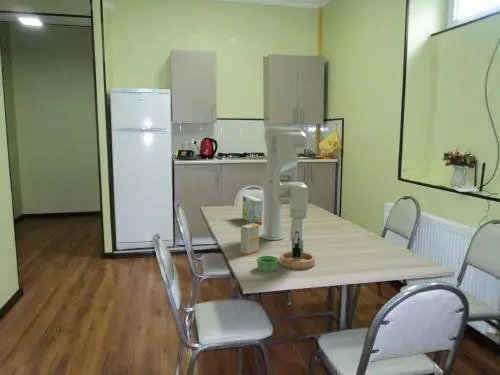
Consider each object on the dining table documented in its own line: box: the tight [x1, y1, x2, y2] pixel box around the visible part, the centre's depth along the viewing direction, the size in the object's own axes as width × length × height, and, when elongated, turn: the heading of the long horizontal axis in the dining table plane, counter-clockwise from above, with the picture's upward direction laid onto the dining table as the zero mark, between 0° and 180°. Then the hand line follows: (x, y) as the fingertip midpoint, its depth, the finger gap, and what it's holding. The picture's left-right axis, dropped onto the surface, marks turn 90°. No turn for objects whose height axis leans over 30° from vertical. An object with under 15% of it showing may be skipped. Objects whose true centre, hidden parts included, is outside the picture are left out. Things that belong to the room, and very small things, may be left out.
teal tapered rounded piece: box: [291, 239, 305, 260], centre depth 175 cm, size 5×5×8 cm
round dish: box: [278, 250, 316, 270], centre depth 175 cm, size 15×15×3 cm
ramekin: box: [256, 255, 279, 273], centre depth 168 cm, size 9×9×4 cm
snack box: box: [242, 195, 264, 226], centre depth 255 cm, size 21×6×15 cm, turn 22°
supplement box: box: [240, 222, 260, 256], centre depth 190 cm, size 8×5×13 cm, turn 141°
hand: (297, 254), depth 175 cm, fingers closed on teal tapered rounded piece, 4 cm apart
